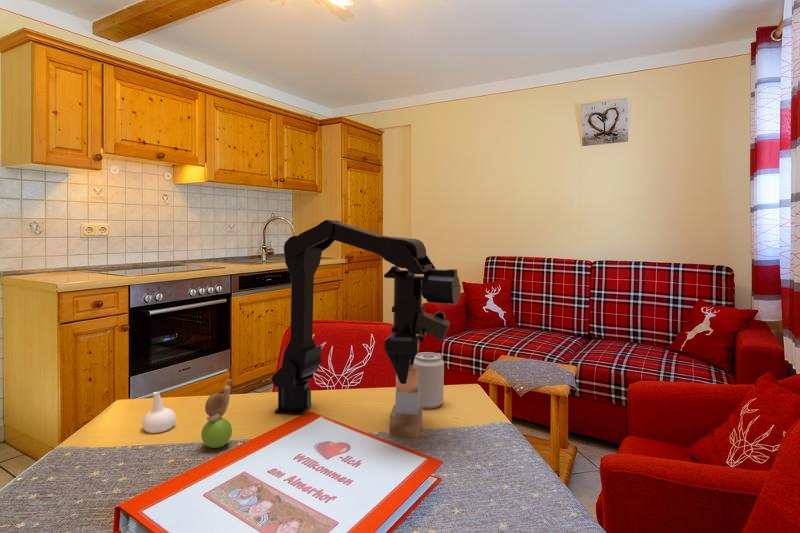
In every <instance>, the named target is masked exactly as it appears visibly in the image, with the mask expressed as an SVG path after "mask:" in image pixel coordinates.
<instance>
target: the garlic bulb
mask: <svg viewBox="0 0 800 533" xmlns="http://www.w3.org/2000/svg"><path fill="white" fill-rule="evenodd" d="M152 399H153V400H152V408H151V410H150V411H149V412H147V413H146V414H145V416H144V417H143V420H142V428H143V430H144V431H145V432H147V433H150V434H157V433H163V432H166V431H169V430H170V429H172V428H173V427H174V426H175V425H176V422H177V415H176V413H175V411H174V410H172V409H171V408H169V407H165V406H164V404H163V401H162V397H161V395H160V391H154V392H153V398H152Z"/></svg>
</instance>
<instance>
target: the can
mask: <svg viewBox="0 0 800 533" xmlns="http://www.w3.org/2000/svg"><path fill="white" fill-rule="evenodd" d="M413 365H415V366H417V367H418V386H420V401H419V406H421V407H422V409H428V410H429V409H436V408H439V406H440V405H442V404H443V403H444V388H445V386H444V384H445V383H444V382H445V380H444V379H445V378H444V375H445V374H444V373H445V362H444V360H443V359H442V355H441V354H439V353H438V352H437V353H436V352H432V351H431V352H429V351H425V352H418V354H417V355H416V356H415V359H414V364H413Z"/></svg>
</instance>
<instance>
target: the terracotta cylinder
mask: <svg viewBox="0 0 800 533" xmlns="http://www.w3.org/2000/svg"><path fill="white" fill-rule="evenodd" d="M396 390H397V391H399V392H404V393H411V392H415V391H417V390H418V367H417V366H415V365H410V367H409V372H408V377H407V382H406V384H401V383H400V381H399V379H398V376H397V374H396V373H395V391H396Z"/></svg>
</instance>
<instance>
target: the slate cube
mask: <svg viewBox="0 0 800 533" xmlns="http://www.w3.org/2000/svg"><path fill="white" fill-rule="evenodd" d="M419 401H420V386H418V390H417V391H415V392H411V393H404V392H399V391H397V390H396V389H395V404H394V405H395V414H404V415H418V411H419Z"/></svg>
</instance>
